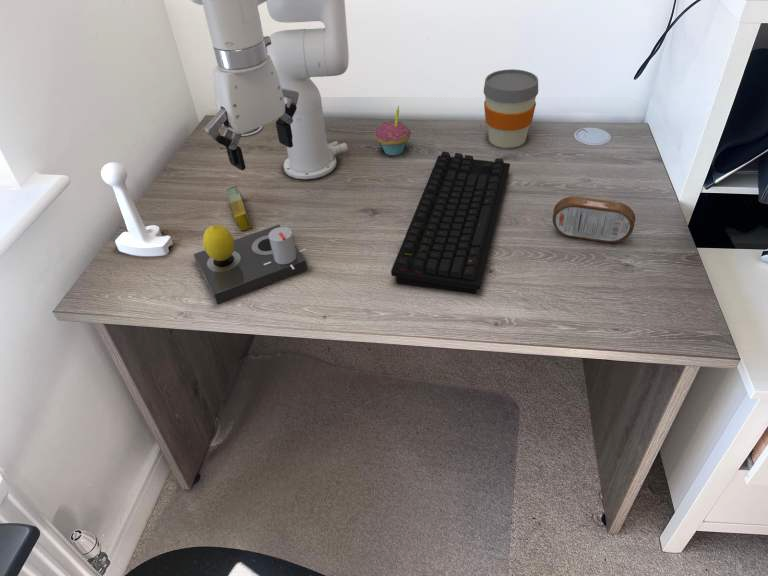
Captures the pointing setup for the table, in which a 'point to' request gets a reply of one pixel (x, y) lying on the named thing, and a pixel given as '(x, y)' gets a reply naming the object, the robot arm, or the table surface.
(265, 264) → the hob
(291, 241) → the hob knob
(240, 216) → the medication box
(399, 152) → the cupcake
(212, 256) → the lemon
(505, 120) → the reusable coffee cup
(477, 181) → the keyboard
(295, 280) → the table surface
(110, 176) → the joystick
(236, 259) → the burners
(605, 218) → the tin
